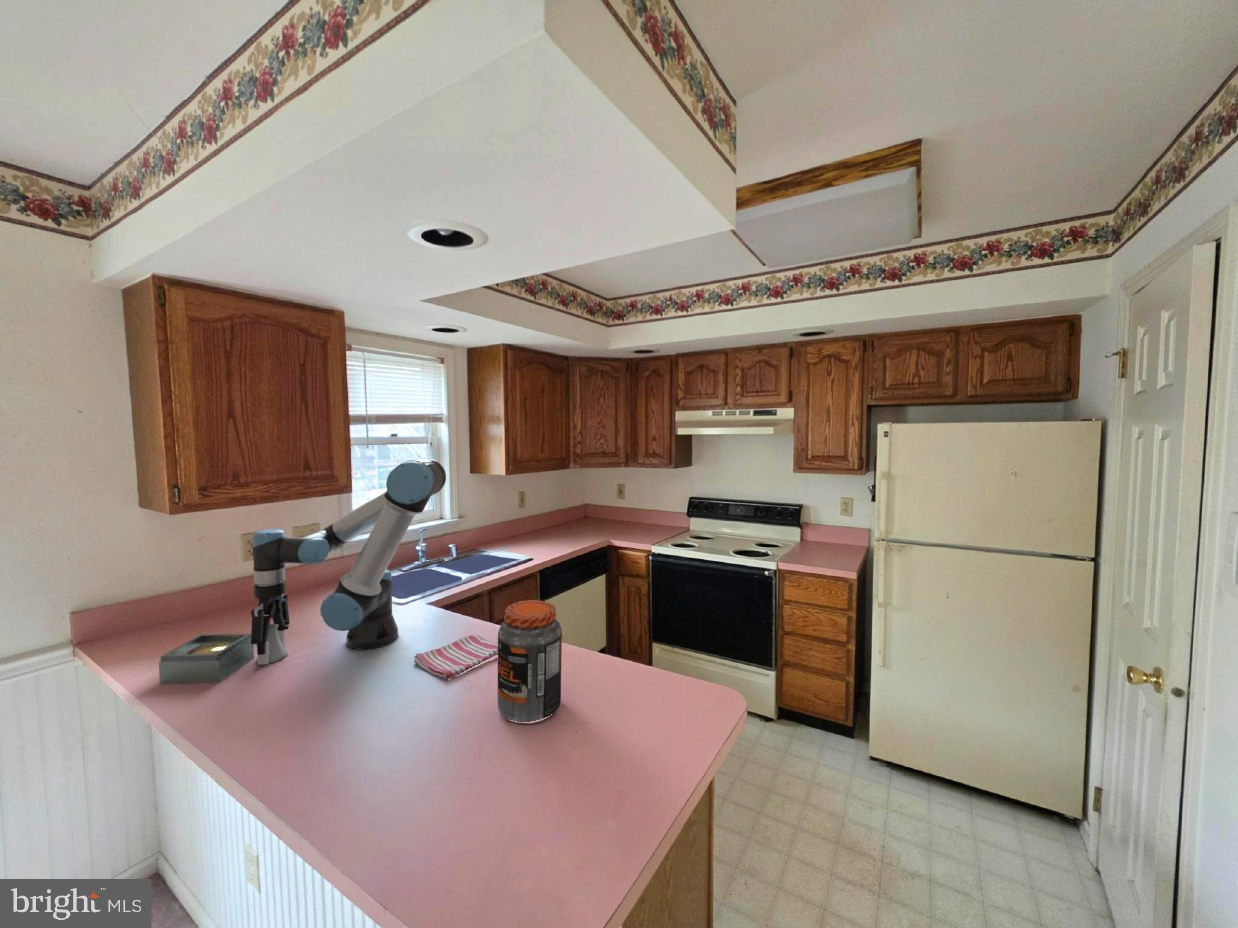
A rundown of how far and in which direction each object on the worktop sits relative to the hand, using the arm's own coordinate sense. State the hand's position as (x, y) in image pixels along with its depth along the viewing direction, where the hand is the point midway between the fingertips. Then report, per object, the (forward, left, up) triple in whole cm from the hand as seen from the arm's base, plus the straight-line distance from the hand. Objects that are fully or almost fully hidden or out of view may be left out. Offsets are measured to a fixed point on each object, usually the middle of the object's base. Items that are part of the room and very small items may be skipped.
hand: (271, 657), depth 145 cm
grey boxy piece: (+13, +7, 0) cm, 14 cm away
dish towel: (-56, +2, -1) cm, 56 cm away
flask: (0, 0, -1) cm, 1 cm away
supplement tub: (-79, +30, 0) cm, 84 cm away
